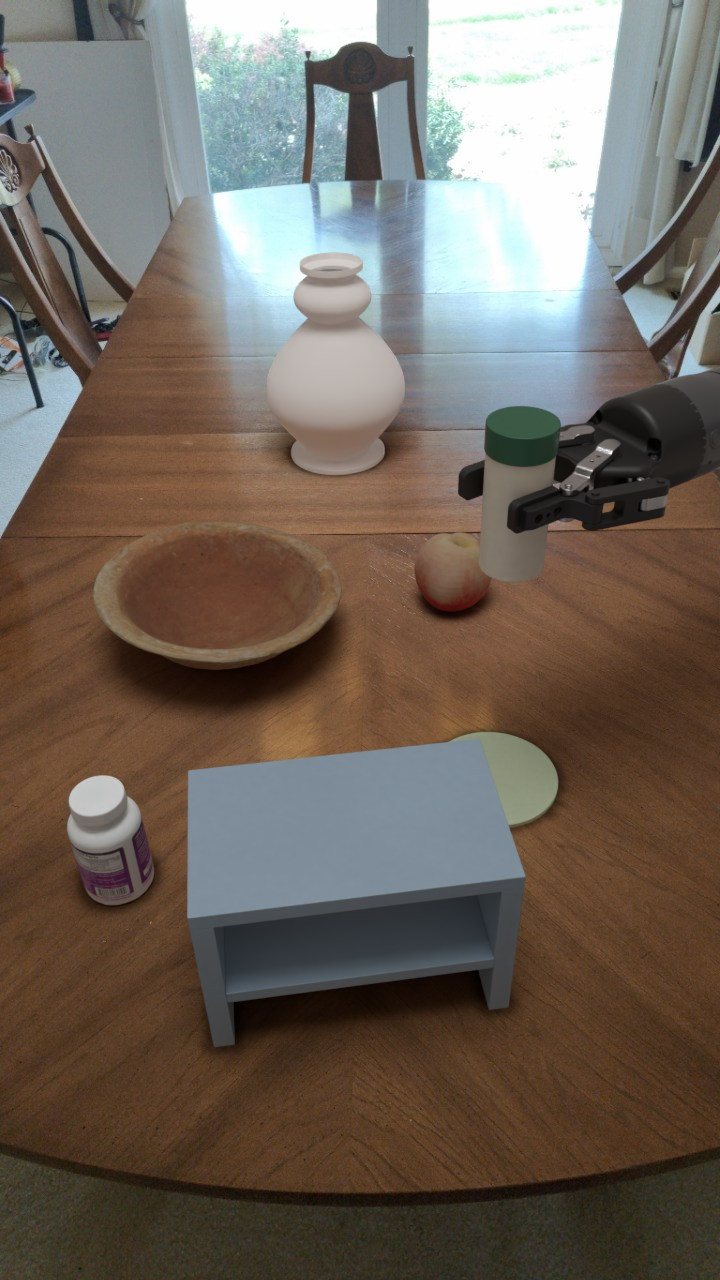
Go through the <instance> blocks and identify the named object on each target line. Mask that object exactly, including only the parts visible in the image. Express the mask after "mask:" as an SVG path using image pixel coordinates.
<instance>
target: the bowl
mask: <svg viewBox="0 0 720 1280" xmlns="http://www.w3.org/2000/svg"><path fill="white" fill-rule="evenodd" d="M342 591H343V589H342V582H341V578H340V574H339V573H338V570H337V569H336V567H335V566H334V564H333V563H332V562H331V560H330V558H329V557H328V556H327V555H326V554H325V553H324V552H323V551H322V550H320V549H318V548H317V547H316V546H315V545H313V544H311V543H309V542H307V541H305V540H304V539H301V538H300V537H298V536H296V535H292V534H290V533H287V532H285V531H282V530H279V529H275V528H272V527H267V526H263V525H261V524H255V523H246V522H235V521H202V522H195V521H188V522H184V523H183V522H182V523H180V524H177V525H174V526H170V527H167V528H163V529H159V530H156V531H154V532H151V533H149V534H146V535H143V536H141V537H139V538H138V539H136V540H133V541H131V542H129V543H128V544H127V545H124V546H123V547H122V548H120V549H119V550H118V551H117V552H116V553H114V554H113V555H112V556H111V557H109V559H108V560H107V561H106V562H105V563H104V564H103V566H102V567H101V568H100V569H99V571H98V573H97V576H96V578H95V580H94V584H93V588H92V598H93V606H94V608H95V611H96V613H97V615H98V618H99V619H100V620H101V621H102V623H103V624H104V625H105V627H107V628H108V630H109V631H111V632H112V633H113V634H114V635H116V636H117V637H118V638H120V639H122V640H123V641H124V642H126V643H128V644H130V645H132V646H133V647H136V648H138V649H140V650H142V651H145V652H146V653H147V652H148V653H151V654H153V655H158V656H161V657H163V658H165V659H167V660H169V661H171V662H173V663H176V664H178V665H181V666H184V667H188V668H193V669H200V670H212V671H218V670H220V671H221V670H230V669H232V670H233V669H239V668H243V667H249V666H252V665H258V664H260V663H263V662H266V661H268V660H270V659H274V658H275V657H277V656H279V655H281V654H282V653H284V652H286V651H288V650H291V649H294V648H295V647H298V646H299V645H301V644H303V643H305V642H307V641H308V640H310V639H311V638H312V637H313V636H314V635H316V634H317V633H318V632H319V631H320V630H321V629H322V628H323V627H324V626H325V625H326V624H327V622H328V621H329V620H330V619H331V618H332V617H333V616H334V614H335V612H336V611H337V609H338V606H339V604H340V601H341V599H342Z"/></svg>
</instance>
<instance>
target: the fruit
mask: <svg viewBox="0 0 720 1280" xmlns="http://www.w3.org/2000/svg"><path fill="white" fill-rule="evenodd" d="M479 550H480V540H478V539H477V538H476V537H475V536H473V535H471V534H469V533H467V532H462V531H458V532H454V533H451V534H450V533H446V532H444V533H442V532H441V533H438V534H436V535H433V536H432V537H430V538H429V539H428V540H427V541H426V542H424V544H423V545H422V547H421V548H420V549H419V551H418V553H417V555H416V558H415V561H414V562H415V563H414V577H415V582H416V584H417V588H418V589H419V592H420V593H421V595H422V597H424V599H425V600H426V601H427V602H428V603H429V604H430V605H431V606H432V607H434V608H435V609H437V610H439V611H443V612H448V613H449V612H451V613H452V612H460V611H463V610H466V609H469V608H470V607H473V606H474V605H476V604H477V603H478V602H479V601H480V600H482V598H484V597H485V595H486V593H487V592H488V590H489V588H490V586H491V584H492V580H493V578H491V577H489V576H488V575H486V574H485V573H484V572H483V571H482V570H481V568H480V566H479Z"/></svg>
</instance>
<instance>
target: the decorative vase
mask: <svg viewBox="0 0 720 1280" xmlns="http://www.w3.org/2000/svg"><path fill="white" fill-rule="evenodd" d="M363 268H364V262H363V259H362V257H360V256H358V255H355V254H353V253H348V252H335V251H334V252H320V253H315V254H311V255H307V256H305V257H303V258H301V259H300V260H299V271H300V272H301V273H302V274H303V275H305V277H304V278H303V279H302V280H301V281H299V283H298V284H297V285H296V287H295V289H294V291H293V296H292V297H293V299H292V300H293V303H294V306H295V307H296V309H297V310H298V311H299V312H300V313H301V315H303V316H304V317H306V319H305V320H304V321H303V322H302V323H301V324H300V326H298V327H297V328H296V330H295V331H294V332H293V333H292V334H291V335H290V336H289V338H287V340H286V341H285V342H284V343H283V345H282V346H281V347H280V349H279V350H278V352H277V354H276V356H275V357H274V359H273V361H272V363H271V365H270V367H269V370H268V374H267V378H266V385H265V387H266V389H265V393H266V400H267V404H268V407H269V409H270V411H271V413H272V415H273V416H274V418H275V419H276V421H278V423H279V424H280V425H281V426H282V427H283V429H285V430H286V431H287V433H288V434H289V435H291V436H292V437H293V438H294V439H295V442H293V444H292V446H291V449H290V456H291V459H292V461H293V463H294V464H295V465H297V466H298V467H300V468H301V469H303V470H306V471H308V472H310V473H315V474H319V475H325V476H326V475H327V476H343V475H352V474H356V473H357V474H358V473H361V472H364V471H367V470H370V469H371V468H373V467H375V466H377V465H378V464H380V462H381V461H382V460H383V459H384V457H385V453H386V450H385V449H386V448H385V444H384V442H383V441H382V440H381V438H380V437H381V435H382V434H383V433H384V432H385V431H386V430H387V428H388V427H389V426H390V425H391V424H392V423H393V421H395V419H396V417H397V416H398V414H399V413H400V412H401V409H402V407H403V403H404V401H405V397H406V383H405V377H404V372H403V369H402V366H401V364H400V362H399V360H398V359H397V357H396V355H395V354H394V352H393V351H392V349H391V348H390V346H388V344H387V343H386V342H385V340H384V339H383V338H382V337H381V336H380V335H379V334H378V333H377V332H376V331H375V330H374V329H373V328H372V327H371V326H370V325H368V323H366V322H365V321H364V320H363V318H361V317H360V316H361V315H362V314H363V313H364V312H366V310H367V309H368V308H369V306H370V304H371V301H372V290H371V288H370V287H369V285H368V283H367V281H365V280H364V279H363V278H362V277H361V276H359V275H358V274H359V273H361V272H362V271H363Z"/></svg>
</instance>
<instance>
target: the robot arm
mask: <svg viewBox="0 0 720 1280" xmlns="http://www.w3.org/2000/svg"><path fill="white" fill-rule="evenodd" d="M484 466H485V459H483V460H479V461H477V462H474V463H472V464H471V463H470V464H467V465H465V466H464V467H463V468H461V470H460V471H459V473H458V480H457V481H458V482H457V494H458V496H459V497H461V498H462V499H463V500H465V501H471V500H473V499H476V498H479V497H483V483H484ZM719 468H720V366H717V367H713V368H710V369H707V370H704V371H702V372H698V373H692V374H685V375H681V376H680V375H679V376H676V377H671V378H669V379H666V380H664V381H660V382H657V383H655V384H652V385H649V386H646V387H643V388H640V389H637V390H634V391H631V392H628V393H625V394H622V395H619V396H616V397H613V398H611V399H608V400H606V401H604V403H603V404H602V405H600V406H599V408H597V410H596V411H595V412H594V413H593V414H592V416H591V417H590V418H589V419H588V420H587V421H586V422H582V423H576V424H575V423H573V424H572V423H571V424H565V425H563V426H561V429H560V438H559V447H558V453H557V455H556V460H555V469H554V479H553V485H552V486H549V487H547V488H544V489H542V490H539V491H536V492H533V493H531V494H528V495H525V496H523V497H520V498H517V499H515V500H513V501H512V502H511V503H510V504H509V507H508V516H507V528H508V529H510V530H511V531H513V532H514V533H516V534H518V533H521V532H524V531H529V530H535V529H537V528H540V527H542V526H545V525H547V524H548V525H550V524H552V523H555V522H558V521H559V522H562V523H570V522H572V521H574V520H576V521H579V522H581V527H582V529H584V530H585V531H589V532H596V531H601V530H605V529H611V528H616V527H620V526H621V527H622V526H625V525H632V524H636V523H641V522H646V521H651V520H656V519H661V518H663V517H665V512H666V508H667V503H668V498H669V491H670V489H673V488H675V487H678V486H680V485H682V484H685V483H687V482H690V481H693V480H695V479H698V478H700V477H702V476H705V475H707V474H710V473H712V472H714V471H715V470H717V469H719ZM556 484H559V487H556V486H555V485H556ZM611 503H614V504H613V508H612V509H611V510H609V511H605V512H603V510H604V505H605V504H611Z"/></svg>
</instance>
